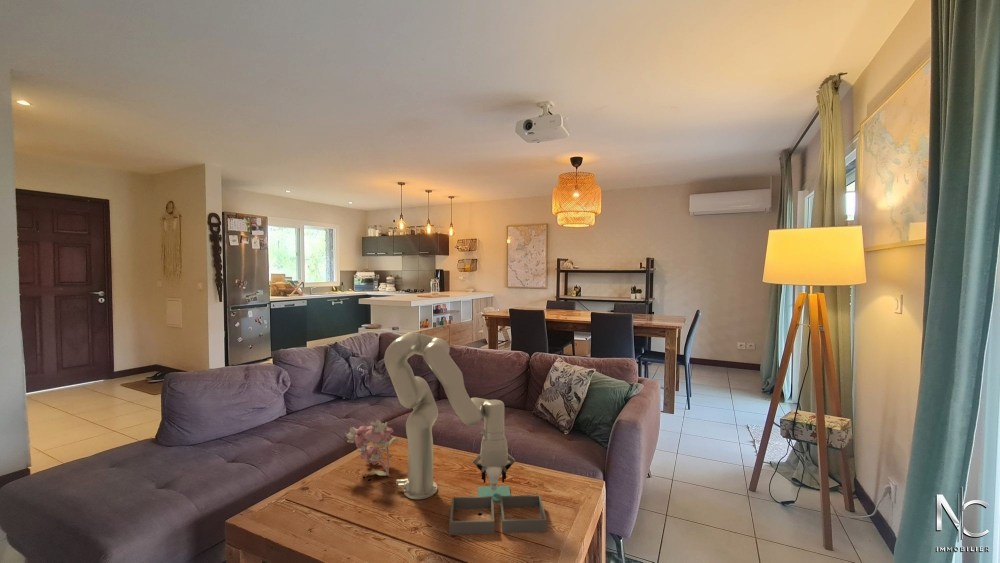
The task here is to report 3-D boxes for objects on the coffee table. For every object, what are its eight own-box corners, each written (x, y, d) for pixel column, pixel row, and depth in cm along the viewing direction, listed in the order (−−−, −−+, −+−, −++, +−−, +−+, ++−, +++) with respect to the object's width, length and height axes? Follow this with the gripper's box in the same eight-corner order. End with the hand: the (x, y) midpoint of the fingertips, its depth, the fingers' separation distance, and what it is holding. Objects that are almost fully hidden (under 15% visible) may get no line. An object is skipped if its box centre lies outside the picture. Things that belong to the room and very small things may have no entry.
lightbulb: (484, 485, 158) (485, 457, 158) (501, 485, 159) (501, 457, 158) (485, 495, 152) (485, 465, 151) (502, 494, 152) (503, 465, 152)
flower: (418, 456, 183) (396, 403, 185) (401, 476, 160) (376, 417, 163) (378, 474, 184) (356, 421, 186) (356, 497, 162) (331, 437, 164)
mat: (478, 502, 150) (478, 501, 150) (478, 487, 160) (478, 486, 160) (511, 502, 150) (511, 500, 150) (509, 487, 160) (509, 485, 160)
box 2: (502, 533, 133) (502, 521, 133) (500, 506, 147) (500, 495, 147) (546, 531, 134) (546, 519, 134) (540, 505, 148) (540, 495, 148)
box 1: (449, 534, 132) (449, 522, 132) (452, 508, 147) (452, 497, 146) (494, 533, 133) (494, 521, 133) (492, 507, 147) (492, 496, 147)
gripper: (470, 438, 150) (470, 486, 151) (518, 437, 151) (517, 485, 152) (471, 430, 157) (470, 476, 158) (516, 429, 158) (515, 475, 159)
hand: (493, 480), depth 155 cm, fingers closed on lightbulb, 6 cm apart
